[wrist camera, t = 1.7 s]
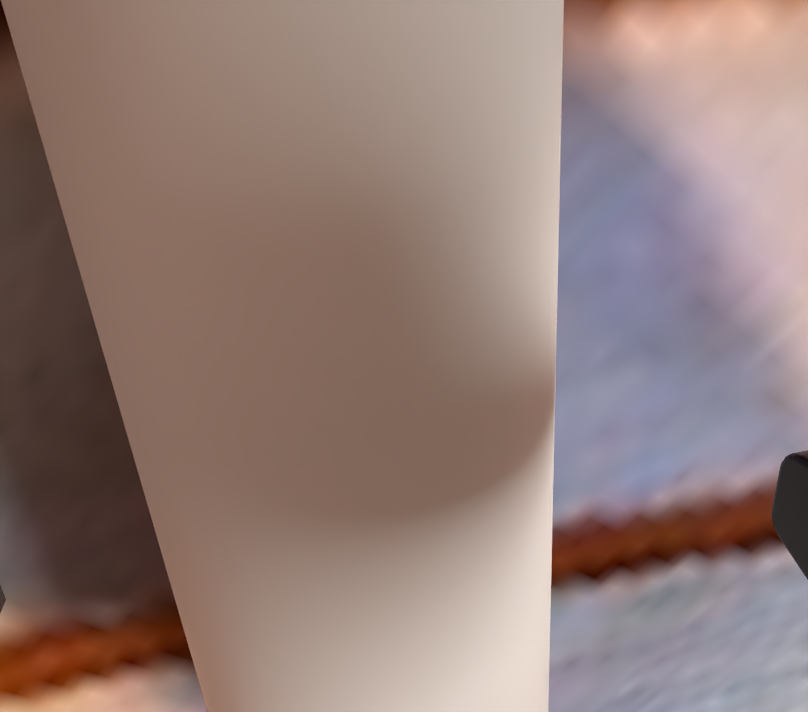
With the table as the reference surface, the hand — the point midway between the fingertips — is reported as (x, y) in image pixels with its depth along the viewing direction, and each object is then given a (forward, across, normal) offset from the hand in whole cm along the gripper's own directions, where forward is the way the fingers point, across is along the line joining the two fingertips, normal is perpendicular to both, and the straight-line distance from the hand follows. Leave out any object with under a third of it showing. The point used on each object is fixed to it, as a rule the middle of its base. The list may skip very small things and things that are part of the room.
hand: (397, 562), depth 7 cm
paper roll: (+6, 0, 0) cm, 6 cm away
